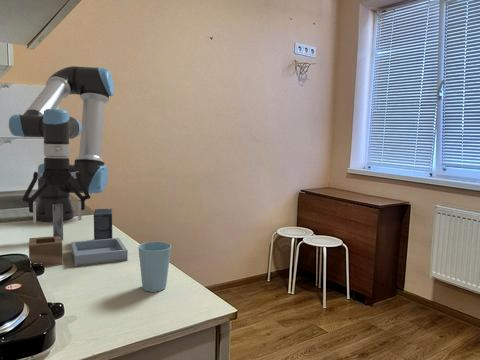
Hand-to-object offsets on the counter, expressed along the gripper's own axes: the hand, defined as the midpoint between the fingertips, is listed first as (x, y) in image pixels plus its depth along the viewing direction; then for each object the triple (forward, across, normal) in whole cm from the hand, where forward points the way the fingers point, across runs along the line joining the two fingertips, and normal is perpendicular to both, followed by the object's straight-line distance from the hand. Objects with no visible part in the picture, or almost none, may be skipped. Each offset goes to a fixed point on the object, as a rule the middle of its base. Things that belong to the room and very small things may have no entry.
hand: (57, 220), depth 128 cm
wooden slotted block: (+6, -4, -22) cm, 23 cm away
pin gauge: (+6, 0, 0) cm, 6 cm away
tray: (+6, +10, -22) cm, 25 cm away
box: (+7, +13, -8) cm, 17 cm away
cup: (+7, +19, -51) cm, 55 cm away
